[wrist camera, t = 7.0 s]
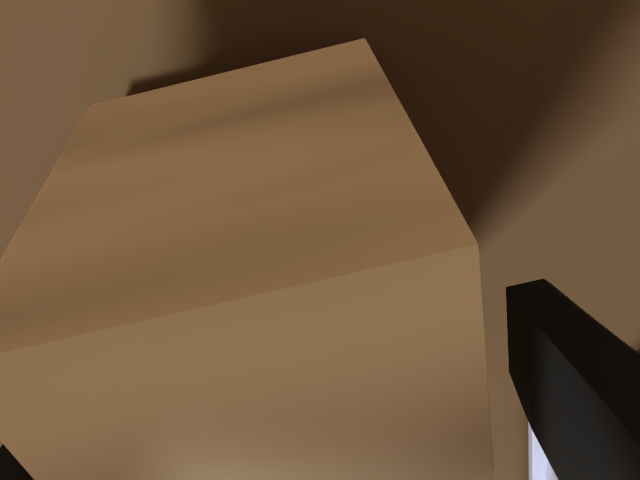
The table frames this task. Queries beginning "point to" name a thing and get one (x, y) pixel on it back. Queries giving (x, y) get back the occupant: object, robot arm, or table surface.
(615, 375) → the robot arm
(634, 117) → the table surface
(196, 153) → the wooden block
